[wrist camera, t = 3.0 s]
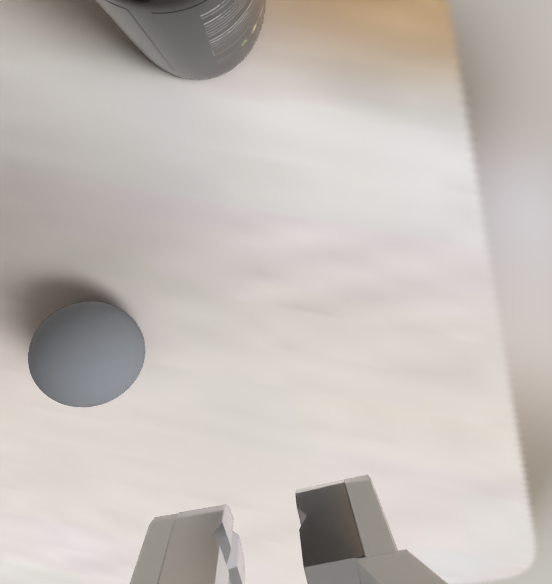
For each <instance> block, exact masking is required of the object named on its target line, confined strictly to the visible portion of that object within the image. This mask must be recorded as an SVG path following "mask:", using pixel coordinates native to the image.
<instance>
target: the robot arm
mask: <svg viewBox="0 0 552 584" xmlns="http://www.w3.org/2000/svg"><path fill="white" fill-rule="evenodd" d="M296 504H297V510H298V514H299V518H300V523H301V527H300V529H299V531H300V540H301V548H302V557H303V565H304V570H305V575H306V579H307V583H308V584H448V583H446V582H445V581H444V580H443V579H442V578H440V577H439V576H438V575H437V574H436V573H434V572H433V571H432V570H431V569H429V568H428V567H427V566H426V565H425V564H423V563H422V562H421V561H420V560H419V559H417V558H416V557H415V556H414V555H413V554H411V553H410V552H409V551H408V550H399V551H398V550H397V547H396V544H395V542H394V539H393V536H392V534H391V531H390V528H389V526H388V523H387V520H386V518H385V515H384V512H383V510H382V507H381V504H380V502H379V499H378V496H377V494H376V491H375V488H374V486H373V483H372V481H371V478H370V477H369V476H368V475H364V476H359V477H354V478H350V479H345V480H344V482H343V480H341V481H336V482H331V483H327V484H322V485H317V486H313V487H308V488H303V489H299V490H296ZM130 584H245V567H244V555H243V550H242V545H241V541H240V538H239V535H238V534H236V533H235V532H233V515H232V513H231V510H230V507H229V506H228V505H220V506H215V507H209V508H203V509H197V510H191V511H186V512H180V513H178V514H172V515H166V516H160V517H155V518H154V519H153V521H152V522H151V523H150V525H149V527H148V530H147V533H146V536H145V539H144V542H143V545H142V548H141V551H140V554H139V557H138V560H137V563H136V566H135V569H134V572H133V575H132V578H131V581H130Z"/></svg>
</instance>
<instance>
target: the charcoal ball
mask: <svg viewBox="0 0 552 584" xmlns="http://www.w3.org/2000/svg"><path fill="white" fill-rule="evenodd" d="M144 358H145V343H144V338H143V335H142V332H141V330H140V328H139V327H138V325H137V323H136V322H135V321H134V320H133V318H132V317H130V316H129V315H128V314H127V313H126V312H124V311H123V310H121V309H119V308H118V307H115V306H113V305H110V304H107V303H103V302H93V301H88V302H80V303H75V304H71V305H68V306H66V307H63V308H61V309H59V310H57V311H56V312H54V313H53V314H52V315H50V316H49V317H48V318H47V319H46V320H45V321H44V322H43V323H42V324H41V325H40V326H39V328H38V329H37V330H36V332H35V334H34V336H33V338H32V340H31V343H30V347H29V353H28V363H29V369H30V373H31V376H32V378H33V380H34V382H35V383H36V385H37V386H38V387H39V389H40V390H41V391H42V392H43V393H44V394H46V395H47V396H48V397H50V398H51V399H53V400H55V401H57V402H59V403H61V404H64V405H68V406H73V407H92V406H97V405H101V404H104V403H107V402H109V401H111V400H113V399H115V398H117V397H118V396H120V395H121V394H122V393H124V392H125V391H126V390H127V389H128V388H129V387H130V386H131V385H132V384H133V383H134V381H135V380H136V378H137V377H138V375H139V373H140V371H141V369H142V366H143V363H144Z"/></svg>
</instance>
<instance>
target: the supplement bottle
mask: <svg viewBox="0 0 552 584" xmlns="http://www.w3.org/2000/svg"><path fill="white" fill-rule="evenodd" d="M95 1H96V2H97V3H98V4H99V5H100V6H101V7H102V9H103V10H104V11H105V12H106V13H107V14H108V15H109V16H110V17H111V19H112V20H113V21H114V22H115V23H116V24H117V25H118V26H119V27H120V29H121V30H122V31H123V32H124V33H125V34H126V35H127V36H128V37H129V39H130V40H131V41H132V42H133V43H134V44H135V45H136V46H137V47H138V48H139V49H140V51H141V52H142V53H143V54H144V55H145V56H146V57H147V58H148V59H150V60H151V61H152V62H153V63H154V64H156V65H157V66H158V67H160V68H161V69H163V70H165V71H166V72H168V73H171V74H173V75H175V76H178V77H182V78H186V79H193V80H203V79H210V78H214V77H217V76H220V75H223V74H225V73H227V72H228V71H230V70H232V69H233V68H235V67H236V66H237V65H238V64H239V63H240V62H242V61H243V60H244V58H245V57H246V56H247V55H248V54H249V52H250V51H251V49H252V48H253V46H254V44H255V42H256V40H257V38H258V36H259V33H260V30H261V27H262V23H263V19H264V13H265V3H266V0H95Z"/></svg>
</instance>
